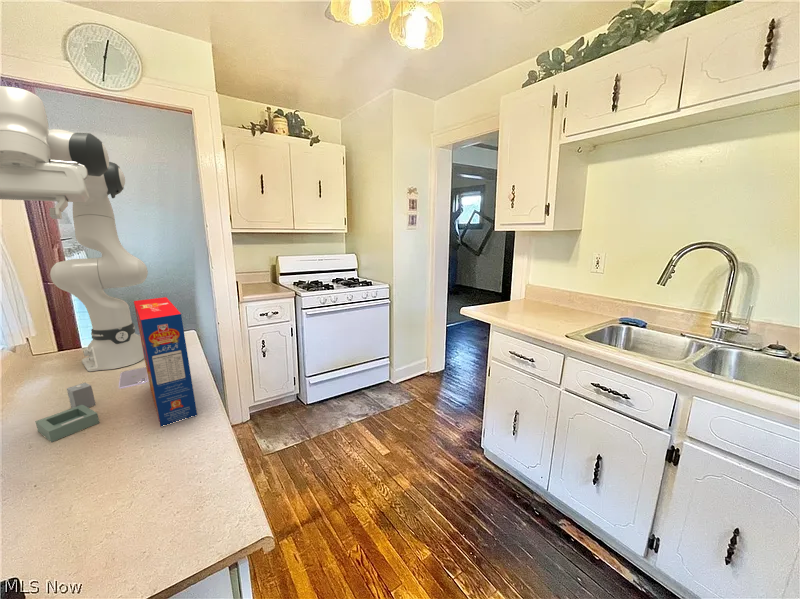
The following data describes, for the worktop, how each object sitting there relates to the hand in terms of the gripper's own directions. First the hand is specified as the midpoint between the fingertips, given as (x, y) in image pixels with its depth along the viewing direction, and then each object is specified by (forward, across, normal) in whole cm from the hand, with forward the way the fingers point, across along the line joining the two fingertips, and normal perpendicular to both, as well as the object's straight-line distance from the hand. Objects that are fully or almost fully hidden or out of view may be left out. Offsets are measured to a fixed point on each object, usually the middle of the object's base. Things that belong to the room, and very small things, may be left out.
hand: (23, 217), depth 68 cm
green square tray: (+42, +2, -30) cm, 52 cm away
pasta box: (+42, -19, -31) cm, 56 cm away
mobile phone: (+30, -9, -55) cm, 63 cm away
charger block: (+37, +1, -41) cm, 55 cm away
